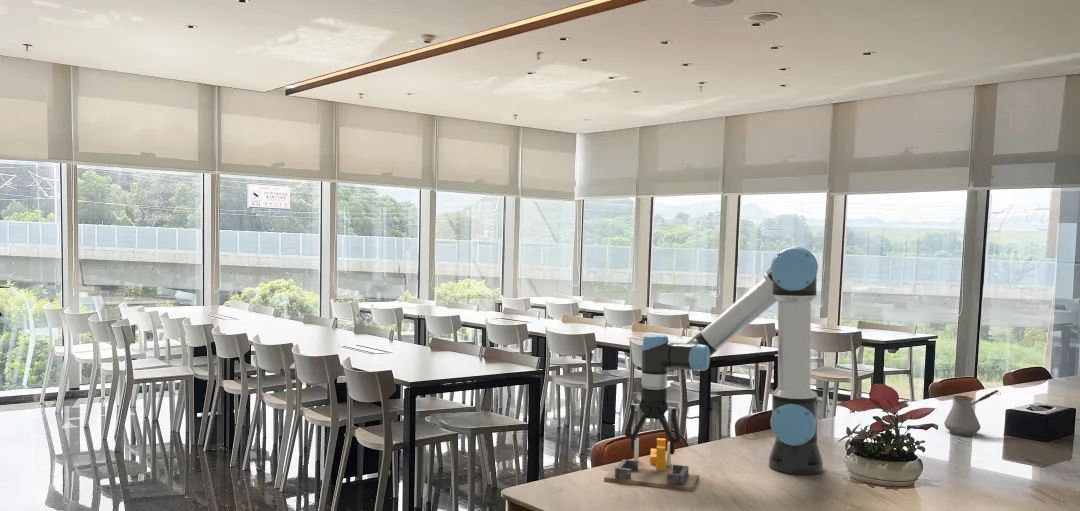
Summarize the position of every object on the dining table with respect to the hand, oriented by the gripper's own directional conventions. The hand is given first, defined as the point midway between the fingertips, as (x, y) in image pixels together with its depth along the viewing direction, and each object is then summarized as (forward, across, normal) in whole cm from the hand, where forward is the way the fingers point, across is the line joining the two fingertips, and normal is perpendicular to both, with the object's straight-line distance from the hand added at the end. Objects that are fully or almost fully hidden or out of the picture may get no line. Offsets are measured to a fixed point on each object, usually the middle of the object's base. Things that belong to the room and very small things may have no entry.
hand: (652, 462), depth 235 cm
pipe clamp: (+1, -2, 0) cm, 2 cm away
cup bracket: (0, -3, +16) cm, 17 cm away
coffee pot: (0, -99, -86) cm, 131 cm away
